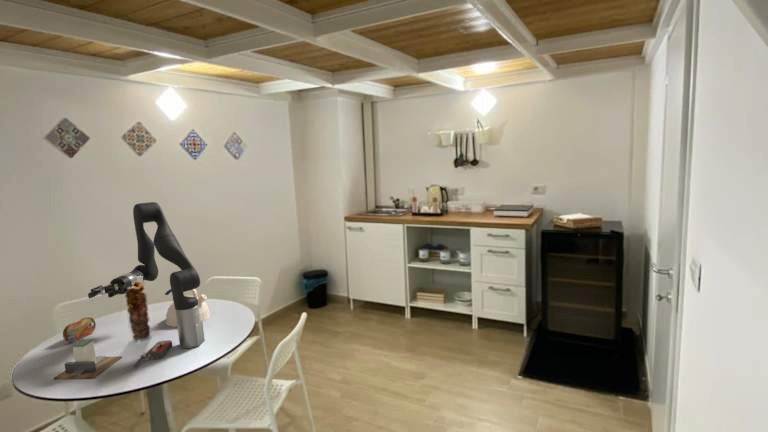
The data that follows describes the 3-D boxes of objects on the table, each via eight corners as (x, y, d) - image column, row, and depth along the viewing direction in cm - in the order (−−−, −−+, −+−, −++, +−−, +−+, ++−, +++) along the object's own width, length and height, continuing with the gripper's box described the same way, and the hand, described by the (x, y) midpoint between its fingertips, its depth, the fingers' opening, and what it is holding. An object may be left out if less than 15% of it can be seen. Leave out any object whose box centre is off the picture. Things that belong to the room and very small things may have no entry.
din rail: (105, 357, 175) (105, 356, 175) (80, 375, 161) (79, 373, 161) (97, 358, 175) (97, 356, 175) (71, 376, 161) (71, 374, 161)
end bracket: (96, 370, 164) (94, 361, 164) (93, 372, 163) (91, 363, 162) (69, 371, 165) (67, 361, 164) (66, 373, 163) (64, 363, 163)
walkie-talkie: (153, 347, 185) (131, 370, 165) (152, 337, 184) (129, 359, 164) (174, 345, 185) (154, 368, 166) (173, 335, 185) (153, 357, 165)
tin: (68, 345, 190) (65, 327, 189) (63, 345, 191) (59, 327, 190) (97, 331, 205) (94, 314, 203) (91, 330, 205) (89, 314, 204)
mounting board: (122, 357, 176) (121, 356, 175) (94, 378, 160) (94, 376, 160) (84, 358, 176) (84, 357, 176) (53, 379, 160) (53, 377, 160)
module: (96, 362, 169) (92, 339, 168) (87, 369, 164) (83, 344, 163) (86, 362, 169) (82, 339, 168) (76, 369, 164) (72, 345, 163)
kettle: (200, 326, 204) (195, 290, 202) (157, 328, 205) (152, 292, 202) (216, 310, 224) (213, 277, 222) (178, 312, 225) (174, 279, 222)
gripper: (107, 275, 191) (80, 287, 175) (138, 274, 190) (114, 286, 174) (110, 291, 192) (83, 304, 176) (140, 290, 191) (117, 303, 175)
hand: (99, 295), depth 175 cm, fingers open, 8 cm apart
